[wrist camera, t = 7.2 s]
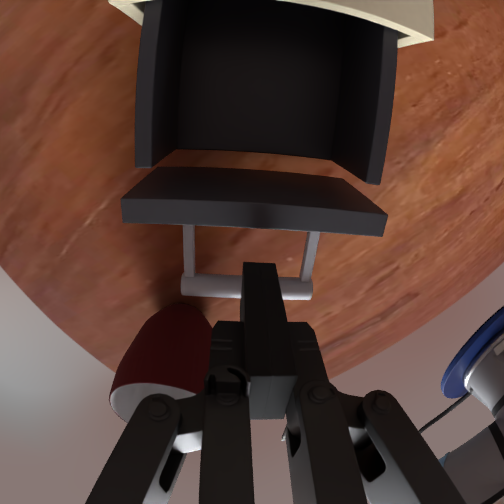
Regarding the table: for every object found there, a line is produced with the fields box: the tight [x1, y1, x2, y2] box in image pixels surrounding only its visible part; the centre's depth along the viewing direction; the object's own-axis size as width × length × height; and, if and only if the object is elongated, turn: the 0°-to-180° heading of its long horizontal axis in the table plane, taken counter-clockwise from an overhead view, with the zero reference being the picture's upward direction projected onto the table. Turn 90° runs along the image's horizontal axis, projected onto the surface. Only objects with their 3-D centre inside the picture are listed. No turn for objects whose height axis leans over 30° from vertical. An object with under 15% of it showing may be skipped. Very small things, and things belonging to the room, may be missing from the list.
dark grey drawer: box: [121, 0, 398, 300], centre depth 14 cm, size 20×12×7 cm, turn 175°
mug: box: [109, 303, 213, 423], centre depth 21 cm, size 10×8×10 cm
